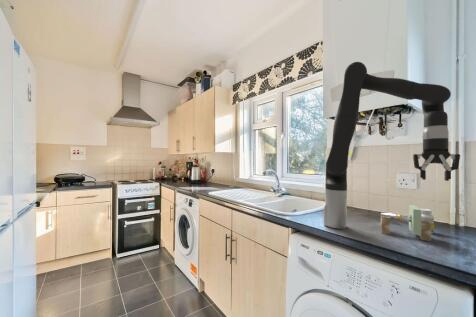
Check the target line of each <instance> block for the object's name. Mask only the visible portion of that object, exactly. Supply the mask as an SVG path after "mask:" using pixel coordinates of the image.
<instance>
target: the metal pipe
mask: <svg viewBox="0 0 476 317" xmlns="http://www.w3.org/2000/svg"><path fill="white" fill-rule="evenodd" d="M381 216H386V217H390V221H391V220H393V221H398V222H407V223H409V222H412V216H409V215H403V214H397V213H396V214H394V213H388V212H387V213H386V212H380V217H381ZM421 221H426V222H430V219H429V218H423V217H421Z"/></svg>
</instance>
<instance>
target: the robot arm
mask: <svg viewBox="0 0 476 317" xmlns="http://www.w3.org/2000/svg"><path fill="white" fill-rule="evenodd" d="M342 86H343V87H342V91H341V92H342V93H341V96H340V99H339V102H338V106H337V109H336V112H335V113H336V114H335V117H334V122H333V127H332V128H333V129H332V141H331V146H330V147H331V148H330V151H329V154H328V157H327V160H326V163H325V195H324V196H325V198H324V200H325V201H324V207H323V210H324V211H323V214H324V215H323V219H324V220H323V225H324V226H325V227H328V228H332V229H346V228H347V218H348V217H347V214H348V212H347V210H348V209H347V208H348V204H347V202H348V181H347V179H348V178H347V177H348V175H347V174H348V167H349V166H348V162H349V161H348V160H349V152H350V145H351V143H352V140H353V137H354V134H355V131H356V127H357V122H358V117H359V110H360V109H359V108H360V98H361V92H362V90H368V91H373V92H378V93H381V94H382V93H383V94H386V95H390V96H394V97H397V98H401V99H405V100H409V101H411V100H419V101H421V108H422V114H423V131H422V152H421V153H418V154H417V153H414V154H413V155H412V160H413V167H414V169H416V170H417V169H418V170H419V171H420V172H419V177H420V178H421V180H422V181H423V180H424V181H426V178H427V177H426V176H427V170H426V169H427V167H428V166H429V165H430V164H438V165H439V164H440V165H441V166H442V168H444V170H445V171H444V181H447V182H449V181H450V180H451V179H452V172H453V171H457V170H459V164H460V160H461V154H458V153H456V154H455V153H450V151H449V145H450V144H449V137H450V135H449V134H450V133H449V128H448V127H449V126H448V125H449V124H448V121H449V120H448V119H449V118H448V117H449V116H448V114H447V112H445V107H444V104H445V103H446V102H447V101H448V100H449V99H450V98H451V95H452V91H451V90H450V89H449V88H448V87H446V86H443V85H440V84H432V83H421V82H420V83H419V82H416V81H413V80H408V79H403V78H399V77H398V78H397V77H381V76H376V75H372V74H369V73H368V70H367V66H366V65H365V64H364V63H363V62H361V61H354V62H351V63H350V64H349V65H348V66H347V67H346V68H345V70H344V72H343V85H342ZM421 158H423V159H424V161H423V162H422V165H421V166H420V163H419V160H420V159H421ZM449 158H451V159H450V160H452V163H451V166H450V163H449V162H448V161H447V160H448V159H449Z"/></svg>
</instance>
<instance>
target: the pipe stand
mask: <svg viewBox="0 0 476 317" xmlns="http://www.w3.org/2000/svg"><path fill="white" fill-rule="evenodd" d="M380 232H381V234H385V235H389V236H390V235H391V219H390V217H386V216H381V215H380ZM417 236H418V238H419V239H420V240H421V241H429V242H431V241H432V234H431V223H430V222H426V221H421V236H419V235H417Z"/></svg>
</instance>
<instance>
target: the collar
mask: <svg viewBox="0 0 476 317" xmlns="http://www.w3.org/2000/svg"><path fill="white" fill-rule="evenodd" d="M421 209H422V208H420V207H418V206H417V205H413V204H409V205H408V216H412V222H408V229H409V231H410V232H411V233H412V235H413V236H418V235H419V236H421ZM419 236H418V237H419Z"/></svg>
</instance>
